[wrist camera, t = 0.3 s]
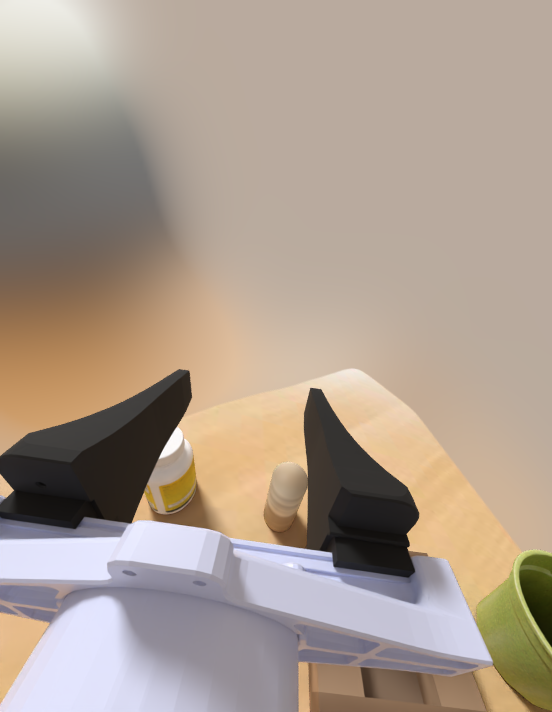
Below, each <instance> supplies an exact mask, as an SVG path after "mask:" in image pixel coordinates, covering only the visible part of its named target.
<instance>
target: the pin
mask: <svg viewBox="0 0 552 712" xmlns="http://www.w3.org/2000/svg"><path fill="white" fill-rule="evenodd" d="M307 486H308V478H307V475H306V473H305V471H304V470H303V468H302V467H300V466H299V465H298V464H296V463H293V462H283V463H280V464H279V465H278V466H276V468H275V469H274V471H273V474H272V479H271V483H270V487H269V491H268V496H267V500H266V504H265V509H264V519H265V522H266V524H267V525H268V527H269V528H271V529H272V530H274V531H276V532H283V531H286V530H287V529H289V528H290V526H291V525H292V523H293V520H294V518H295V516H296V513H297V511H298V508H299V506H300V504H301V501H302V499H303V496H304V494H305V492H306V489H307Z"/></svg>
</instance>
